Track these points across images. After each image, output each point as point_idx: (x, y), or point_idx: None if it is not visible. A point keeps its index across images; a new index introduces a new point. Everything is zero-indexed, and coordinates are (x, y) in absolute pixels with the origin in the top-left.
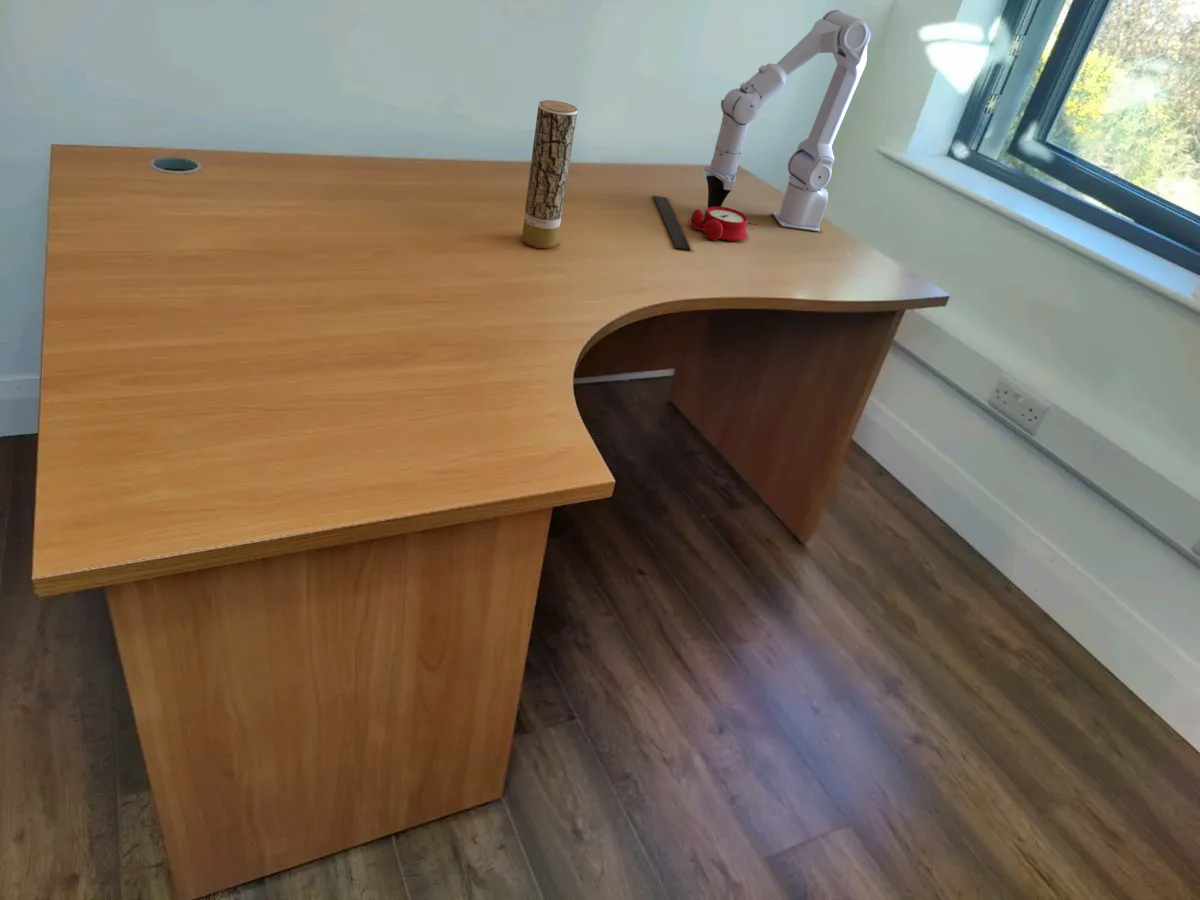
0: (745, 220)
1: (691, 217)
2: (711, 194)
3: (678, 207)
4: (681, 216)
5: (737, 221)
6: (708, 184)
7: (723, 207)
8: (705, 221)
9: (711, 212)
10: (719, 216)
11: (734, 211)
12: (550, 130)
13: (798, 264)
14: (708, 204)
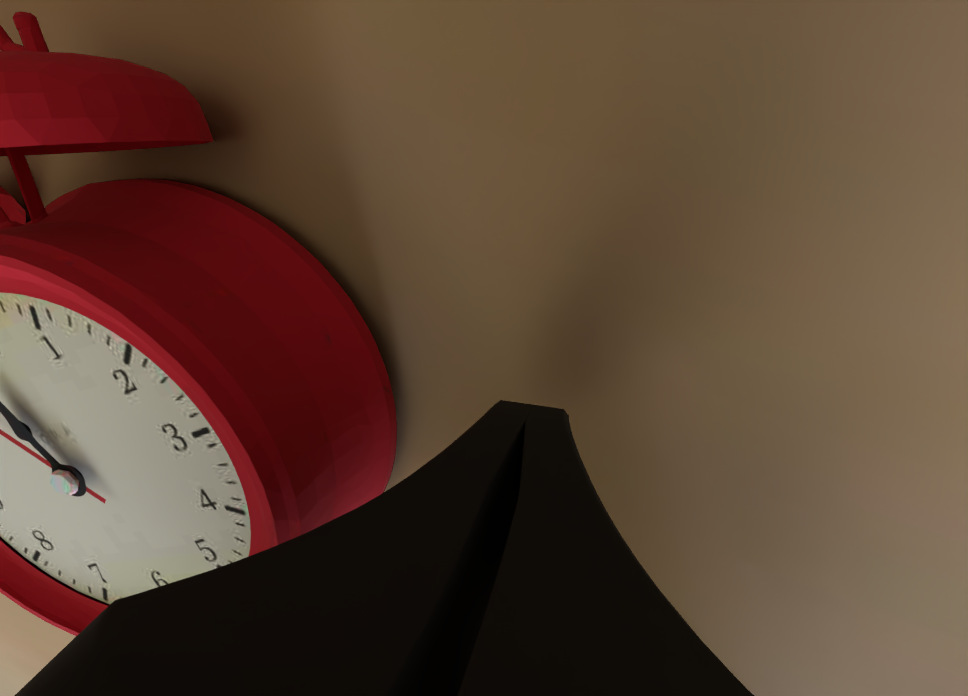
0: (67, 605)
1: (117, 59)
2: (355, 510)
3: (842, 67)
4: (483, 35)
5: (18, 527)
6: (572, 633)
7: (269, 538)
8: (53, 221)
9: (84, 329)
10: (22, 388)
11: None
12: None
13: (6, 637)
14: (517, 426)
